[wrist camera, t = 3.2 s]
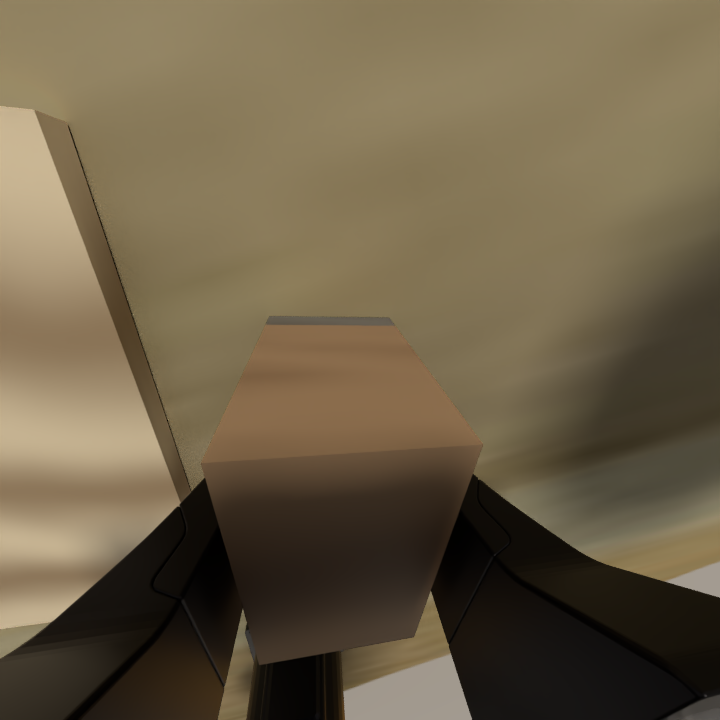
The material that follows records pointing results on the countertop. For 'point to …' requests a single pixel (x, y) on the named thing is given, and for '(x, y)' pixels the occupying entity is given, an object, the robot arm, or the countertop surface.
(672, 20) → the countertop surface
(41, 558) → the birch board
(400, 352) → the block
